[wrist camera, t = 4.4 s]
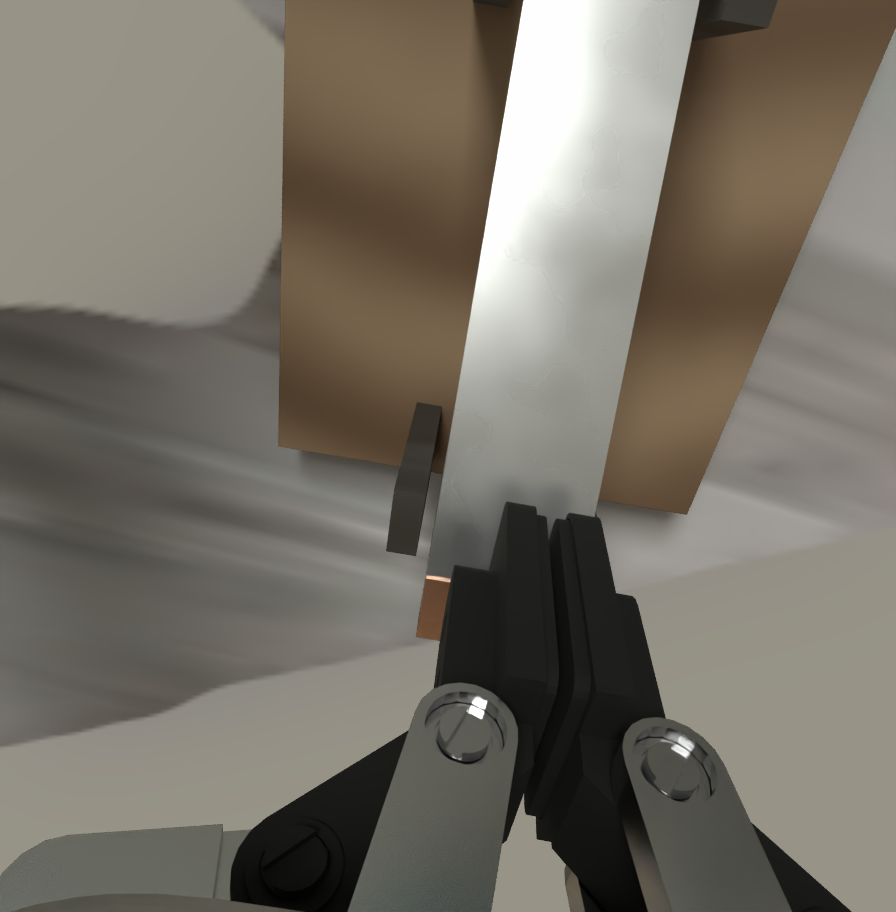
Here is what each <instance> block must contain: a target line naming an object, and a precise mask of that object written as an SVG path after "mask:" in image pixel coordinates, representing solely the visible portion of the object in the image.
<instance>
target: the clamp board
mask: <svg viewBox="0 0 896 912" xmlns="http://www.w3.org/2000/svg"><path fill="white" fill-rule="evenodd" d="M522 4H523V0H285V59H284V61H285V63H284V123H283V127H284V128H283V186H282V248H281V312H280V375H279V438H278V446H279V447H285V448H291V449H297V450H303V451H309V452H315V453H321V454H327V455H333V456H339V457H345V458H351V459H357V460H363V461H369V462H375V463H381V464H387V465H393V466H399V467H400V469H399V473H398V477H397V481H396V485H395V489H394V495H393V503H392V511H391V518H390V526H389V534H388V541H387V549H386V551H388V552H394V553H400V554H406V555H412V556H416V553H417V547H418V541H419V536H420V530H421V524H422V519H423V513H424V508H425V502H426V496H427V491H428V485H429V480H430V474H431V472H435V473H441V474H443V470H444V464H445V459H446V453H447V447H448V441H449V435H450V429H451V423H452V417H453V411H454V405H455V399H456V394H457V388H458V382H459V376H460V370H461V364H462V358H463V352H464V346H465V340H466V335H467V329H468V323H469V317H470V311H471V305H472V299H473V293H474V287H475V281H476V275H477V270H478V264H479V258H480V252H481V246H482V240H483V234H484V228H485V222H486V216H487V211H488V205H489V199H490V193H491V187H492V181H493V175H494V169H495V163H496V157H497V152H498V146H499V140H500V134H501V128H502V122H503V116H504V110H505V104H506V98H507V92H508V87H509V81H510V75H511V69H512V63H513V57H514V51H515V45H516V39H517V33H518V28H519V22H520V16H521V10H522ZM895 28H896V0H699V5H698V10H697V15H696V20H695V25H694V30H693V35H692V40H691V45H690V50H689V54H688V59H687V64H686V69H685V74H684V79H683V84H682V89H681V94H680V99H679V104H678V109H677V114H676V118H675V123H674V128H673V133H672V138H671V143H670V148H669V153H668V158H667V163H666V168H665V173H664V178H663V182H662V187H661V192H660V197H659V202H658V207H657V212H656V217H655V222H654V227H653V232H652V237H651V242H650V246H649V251H648V256H647V261H646V266H645V271H644V276H643V281H642V286H641V291H640V296H639V301H638V306H637V310H636V315H635V320H634V325H633V330H632V335H631V340H630V345H629V350H628V355H627V360H626V365H625V370H624V375H623V379H622V384H621V389H620V394H619V399H618V404H617V409H616V414H615V419H614V424H613V429H612V434H611V439H610V443H609V448H608V453H607V458H606V463H605V468H604V473H603V478H602V483H601V488H600V493H599V498H598V500H602V501H608V502H614V503H620V504H626V505H632V506H638V507H644V508H650V509H656V510H662V511H668V512H674V513H680V514H686V515H687V513H688V511H689V508H690V506H691V504H692V501H693V499H694V497H695V494H696V492H697V490H698V487H699V485H700V483H701V480H702V478H703V476H704V473H705V471H706V469H707V466H708V464H709V462H710V459H711V457H712V455H713V452H714V450H715V448H716V445H717V443H718V441H719V438H720V436H721V434H722V431H723V429H724V427H725V424H726V422H727V420H728V417H729V415H730V413H731V410H732V408H733V406H734V403H735V401H736V399H737V396H738V394H739V392H740V389H741V387H742V385H743V382H744V380H745V378H746V375H747V373H748V371H749V368H750V366H751V364H752V361H753V359H754V357H755V354H756V352H757V350H758V347H759V345H760V343H761V340H762V338H763V336H764V333H765V331H766V329H767V326H768V324H769V322H770V319H771V317H772V315H773V312H774V310H775V308H776V305H777V303H778V301H779V298H780V296H781V294H782V291H783V289H784V287H785V284H786V282H787V280H788V277H789V275H790V273H791V270H792V268H793V266H794V263H795V261H796V259H797V256H798V254H799V252H800V249H801V247H802V245H803V242H804V240H805V238H806V235H807V233H808V231H809V228H810V226H811V224H812V221H813V219H814V217H815V214H816V212H817V210H818V207H819V205H820V203H821V200H822V198H823V196H824V193H825V191H826V189H827V186H828V184H829V182H830V179H831V177H832V175H833V172H834V170H835V168H836V165H837V163H838V161H839V158H840V156H841V154H842V151H843V149H844V147H845V144H846V142H847V140H848V137H849V135H850V133H851V130H852V128H853V126H854V123H855V121H856V119H857V116H858V114H859V112H860V109H861V107H862V105H863V102H864V100H865V98H866V95H867V93H868V91H869V88H870V86H871V84H872V81H873V79H874V77H875V74H876V72H877V70H878V67H879V65H880V63H881V60H882V58H883V56H884V54H885V51H886V49H887V47H888V44H889V42H890V40H891V37H892V35H893V33H894V30H895ZM595 517H597V515H596V512H595Z"/></svg>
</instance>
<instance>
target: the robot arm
mask: <svg viewBox="0 0 896 912" xmlns="http://www.w3.org/2000/svg"><path fill="white" fill-rule="evenodd" d="M523 794H524V806H525V813H526V814H527V815H531V816H536V834H537V839H538V840H544V841H549V842H551V843H552V849H553V850H554V851H555V852H556V853H557V855H558V856H559V857H560V858H561V859H562V860H563V862H564V863H565V864H566V867H565V886H566V891H567V896H568V901H569V906H570V911H571V912H851V911H850V910H849V909H848V908H847V907H846V906H844V905H843V904H842V903H841V902H840V901H839V900H838V899H837V898H836V897H834V896H833V895H832V894H831V893H830V892H829V891H828V890H827V889H825V888H824V887H823V886H822V885H821V884H820V883H819V882H818V881H816V880H815V879H814V878H813V877H812V876H811V875H810V874H809V873H807V872H806V871H805V870H804V869H803V868H802V867H801V866H799V865H798V864H797V863H796V862H795V861H794V860H793V859H792V858H790V857H789V856H788V855H787V854H786V853H785V852H784V851H783V850H782V849H780V848H779V847H778V846H777V845H776V844H775V843H774V842H773V841H771V840H770V839H769V838H768V837H767V836H766V835H765V834H764V833H762V832H761V831H760V830H759V829H758V828H757V827H756V826H755V825H753V824H752V823H751V821H750V819H749V817H748V815H747V813H746V811H745V808H744V806H743V804H742V802H741V800H740V798H739V796H738V793H737V791H736V789H735V787H734V785H733V782H732V780H731V778H730V776H729V774H728V772H727V769H726V767H725V765H724V763H723V762H722V760H721V759H720V757H719V755H718V754H717V752H716V751H715V749H714V748H713V747H712V746H711V745H710V744H709V743H708V742H707V741H706V740H705V739H704V738H703V737H702V736H700V735H699V734H698V733H696V732H695V731H693V730H692V729H690V728H689V727H687V726H685V725H683V724H680V723H678V722H676V721H674V720H670V719H666V718H665V714H664V710H663V706H662V702H661V698H660V694H659V689H658V686H657V681H656V677H655V673H654V669H653V665H652V661H651V657H650V653H649V649H648V645H647V640H646V636H645V632H644V628H643V624H642V620H641V616H640V612H639V608H638V605H637V602H636V599H635V598H634V597H633V596H628V595H623V594H617V593H616V591H615V586H614V581H613V577H612V572H611V567H610V562H609V557H608V553H607V548H606V543H605V538H604V533H603V528H602V524H601V520H600V518H598V517H592V516H587V515H581V514H575V513H568V514H567V516H566V519H565V520H564V519H558V518H557V519H556V520H555V522H554V524H553V528H552V531H551V534H550V538H549V539H548V527H547V517H546V516H542V515H537V509H536V507H535V506H530V505H525V504H519V503H513V502H508V501H506V503H505V506H504V509H503V513H502V517H501V521H500V526H499V530H498V534H497V538H496V542H495V546H494V550H493V554H492V558H491V563H490V567H489V571H488V570H482V569H476V568H471V567H465V566H460V565H454V568H453V572H452V576H451V581H450V586H449V591H448V596H447V601H446V606H445V612H444V618H443V624H442V630H441V637H440V644H439V653H438V659H437V667H436V675H435V683H434V689H433V690H431V691H430V692H429V693H428V694H427V695H426V696H424V697H423V698H422V700H421V701H420V703H419V705H418V707H417V709H416V711H415V713H414V716H413V719H412V722H411V725H410V728H409V730H408V731H407V732H405V733H403V734H402V735H400V736H399V737H397V738H395V739H394V740H392V741H390V742H389V743H387V744H385V745H384V746H382V747H381V748H379V749H377V750H376V751H374V752H372V753H371V754H369V755H368V756H366V757H364V758H363V759H361V760H360V761H358V762H356V763H355V764H353V765H351V766H350V767H348V768H346V769H345V770H343V771H342V772H340V773H338V774H337V775H335V776H333V777H332V778H330V779H329V780H327V781H325V782H324V783H322V784H320V785H319V786H317V787H316V788H314V789H312V790H311V791H309V792H307V793H306V794H304V795H303V796H301V797H299V798H298V799H296V800H295V801H293V802H291V803H290V804H288V805H286V806H285V807H283V808H281V809H280V810H278V811H277V812H275V813H273V814H272V815H270V816H268V817H267V818H265V819H264V820H263V821H262V822H261V823H259V824H258V825H257V826H256V827H254V828H253V829H252V830H241V831H226V832H223V825H222V824H218V825H205V826H191V827H176V828H161V829H148V830H133V831H120V832H119V831H118V832H104V833H91V834H76V835H66V836H62V837H58V838H54V839H49V840H45V841H44V842H42V843H40V844H38V845H36V846H35V847H33V848H31V849H29V850H28V851H26V852H24V853H22V854H21V855H20V856H19V857H18V858H17V859H16V860H15V861H14V862H13V863H12V864H11V865H10V866H9V867H8V868H7V869H6V870H5V871H4V872H3V873H2V874H1V876H0V912H491V909H492V903H493V896H494V890H495V884H496V878H497V872H498V865H499V859H500V853H501V846H502V844H503V843H504V842H505V841H506V840H507V838H508V835H509V833H510V830H511V827H512V824H513V822H514V819H515V816H516V813H517V811H518V808H519V805H520V802H521V799H522V797H523Z"/></svg>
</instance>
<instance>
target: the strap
mask: <svg viewBox="0 0 896 912" xmlns="http://www.w3.org/2000/svg"><path fill="white" fill-rule="evenodd" d="M698 5H699V0H523V4H522V10H521V16H520V22H519V28H518V33H517V39H516V45H515V51H514V57H513V63H512V69H511V75H510V81H509V87H508V92H507V98H506V104H505V110H504V116H503V122H502V128H501V134H500V140H499V146H498V152H497V157H496V163H495V169H494V175H493V181H492V187H491V193H490V199H489V205H488V211H487V216H486V222H485V228H484V234H483V240H482V246H481V252H480V258H479V264H478V270H477V275H476V281H475V287H474V293H473V299H472V305H471V311H470V317H469V323H468V329H467V335H466V340H465V346H464V352H463V358H462V364H461V370H460V376H459V382H458V388H457V394H456V399H455V405H454V411H453V417H452V423H451V429H450V435H449V441H448V447H447V453H446V459H445V464H444V470H443V476H442V482H441V488H440V494H439V500H438V506H437V512H436V518H435V523H434V529H433V535H432V541H431V547H430V553H429V559H428V564H427V570H426V576H425V582H424V588H423V594H422V600H421V606H420V612H419V618H418V625H417V633H416V637H419V638H425V639H431V640H438V641H440V637H441V630H442V624H443V618H444V612H445V606H446V601H447V596H448V591H449V586H450V581H451V576H452V572H453V568H454V565H460V566H465V567H471V568H476V569H482V570H488V571H489V567H490V563H491V558H492V554H493V550H494V546H495V542H496V538H497V534H498V530H499V526H500V521H501V517H502V513H503V509H504V506H505V503H506V501H508V502H513V503H519V504H525V505H530V506H535V507H536V509H537V515H542V516H546V517H547V527H548V539H549V538H550V534H551V531H552V528H553V524H554V522H555V520H556V519H557V518H558V519H564V520H565V519H566V516H567V514H568V513H575V514H581V515H587V516H592V517H595V512H596V507H597V503H598V498H599V493H600V488H601V483H602V478H603V473H604V468H605V463H606V458H607V453H608V448H609V443H610V439H611V434H612V429H613V424H614V419H615V414H616V409H617V404H618V399H619V394H620V389H621V384H622V379H623V375H624V370H625V365H626V360H627V355H628V350H629V345H630V340H631V335H632V330H633V325H634V320H635V315H636V310H637V306H638V301H639V296H640V291H641V286H642V281H643V276H644V271H645V266H646V261H647V256H648V251H649V246H650V242H651V237H652V232H653V227H654V222H655V217H656V212H657V207H658V202H659V197H660V192H661V187H662V182H663V178H664V173H665V168H666V163H667V158H668V153H669V148H670V143H671V138H672V133H673V128H674V123H675V118H676V114H677V109H678V104H679V99H680V94H681V89H682V84H683V79H684V74H685V69H686V64H687V59H688V54H689V50H690V45H691V40H692V35H693V30H694V25H695V20H696V15H697V10H698Z"/></svg>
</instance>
